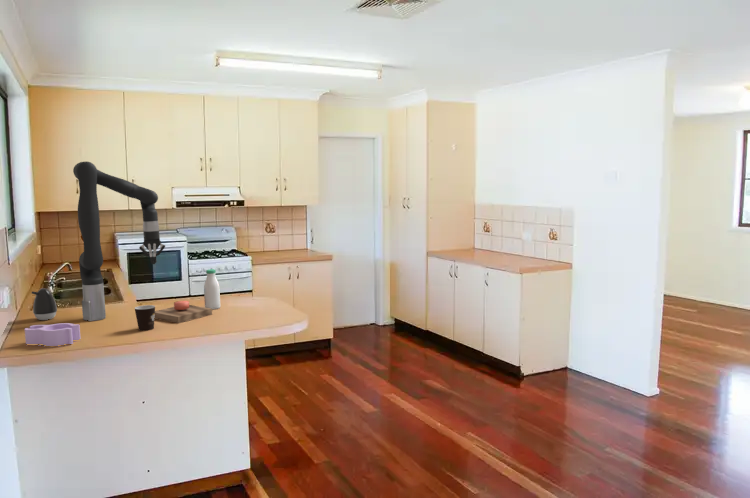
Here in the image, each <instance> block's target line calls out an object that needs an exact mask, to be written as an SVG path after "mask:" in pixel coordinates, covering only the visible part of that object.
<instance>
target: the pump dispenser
mask: <svg viewBox="0 0 750 498" xmlns="http://www.w3.org/2000/svg"><path fill="white" fill-rule="evenodd" d="M31 294H32V295H35V298H34V301H33V306H32V307H33V308H32V314H34V317H35V319H37V320H39V321H49V320H48V319H50V320H52V319H54V317H55V316H56V315H57V311H58V307H57V303H56V300H55V298H54V296H53V294H52V292H51V291H50V290H49V289H48V288H44V287H43V288H40V289H39V290H38V291H31Z"/></svg>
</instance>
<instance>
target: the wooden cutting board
mask: <svg viewBox="0 0 750 498" xmlns="http://www.w3.org/2000/svg"><path fill="white" fill-rule="evenodd" d="M212 315H213V309H211V308H205V306H199V305H193V304H189V308H188V309H184V310H175V309H174V306H171V307H167V308H162V309H158V310H155V319H154V320H159V319H160V320H161V321H164V320H165V321H166V322H171V323H176V324H182V323H186V322H189V321H192V320H197V319H201V318H204V317H208V316H212ZM165 321H164V322H165Z"/></svg>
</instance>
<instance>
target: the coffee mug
mask: <svg viewBox="0 0 750 498" xmlns="http://www.w3.org/2000/svg"><path fill="white" fill-rule="evenodd" d="M134 311H135V316H136V322H137V323H136V324H137V329H138V331H141V332H147V331H152V330H154V329H155V319H154V318H155V311H156V305H153V304H151V305H150V304H145V305H139V306H135V307H134Z"/></svg>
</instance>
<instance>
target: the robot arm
mask: <svg viewBox="0 0 750 498" xmlns="http://www.w3.org/2000/svg"><path fill="white" fill-rule="evenodd" d="M72 169H73V175H74V177H75V178H76V179H77V181H78V188H79V196H78V204H77V222H78V227H79V230H80V233H81V234H80V235H81V237H82V241H83V252H82V253H81V254H79V259H78V263H79V265H78V266H79V274H80V279H81V285H82V286H81V287H82V300H81V310H82V320H83V321H87V320H88V322H95V321H100V320H104V319H106V318H107V317H106V316H107V315H106V304H105V303H106V301H105V300H106V299H105V290H104V277H103V275H102V271H101V268H102V266H103V264H104V257H103V251H102V246H101V222H100V219H101V218H100V208H99V201H98V189H97V188H98V187H97V185H99V186H102V187H103V188H104V187H105V188H107V189H109V190H111V191H113V192H116V193H119V194H120V195H123V196H126V197H128V198H131V199H134V200H135V199H136V200H137V201H139V203H140V207H141V211H142V230H143V231H142V232H143V242H142V245H140V246H139V247H138V249H140V251H141V252H142V253H143V254H144V255H145V256H146V257H149V260H150V264H151V265H156V263H157V262H158V261H157V257H158V256H160V254H161V253H162V252H163V251H164V249H165V248H166V244H163V243H162V241H161V239H160V238H161V237H160V225H159V218H158V217H159V215H158V211H157V209H156V205H155V204H156V203H157V202H158V200H159V196H158V193H156V192H155V191H154V190H151V189H149V188H145V187H143V186H140V185H138V184H135V183H133V182H130V181H129V180H125V179H123V178H121V177H117V176H113V175H111V174H108V173H105V172H103V171H101V170H99V169H98V168H97V167H96V165H95V164H94V163H92V162H90V161H80V162H78V163H76V164H75V165H74V167H73V168H72ZM158 248H160V249H159V250H158ZM146 249H147V250H146ZM157 250H158V252H157Z"/></svg>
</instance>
